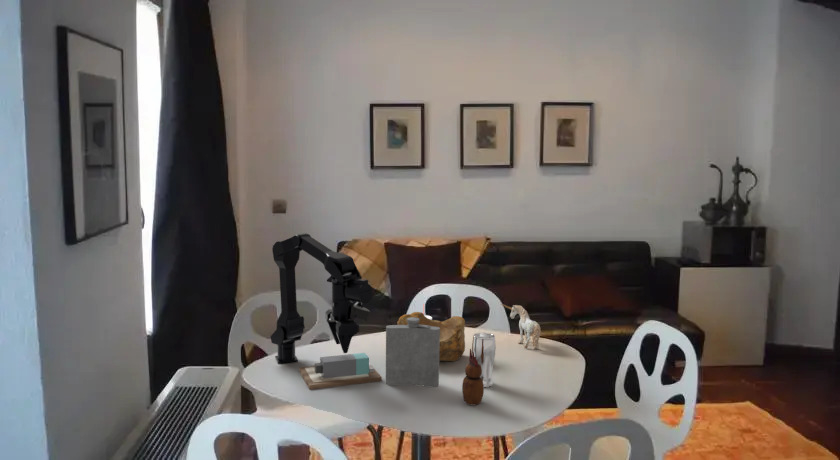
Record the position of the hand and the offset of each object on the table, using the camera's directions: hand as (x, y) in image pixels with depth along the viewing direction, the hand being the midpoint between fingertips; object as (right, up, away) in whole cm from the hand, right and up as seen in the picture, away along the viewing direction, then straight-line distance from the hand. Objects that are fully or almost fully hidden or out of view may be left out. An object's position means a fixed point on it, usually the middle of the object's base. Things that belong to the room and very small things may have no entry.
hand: (341, 348), depth 200 cm
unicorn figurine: (+59, -6, +36) cm, 70 cm away
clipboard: (-1, -9, +3) cm, 10 cm away
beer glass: (+43, -11, -2) cm, 44 cm away
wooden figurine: (+38, -13, -16) cm, 43 cm away
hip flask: (+21, -10, -2) cm, 24 cm away
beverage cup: (+25, -5, +39) cm, 47 cm away
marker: (+1, -8, +2) cm, 8 cm away
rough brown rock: (+27, -8, +19) cm, 34 cm away
